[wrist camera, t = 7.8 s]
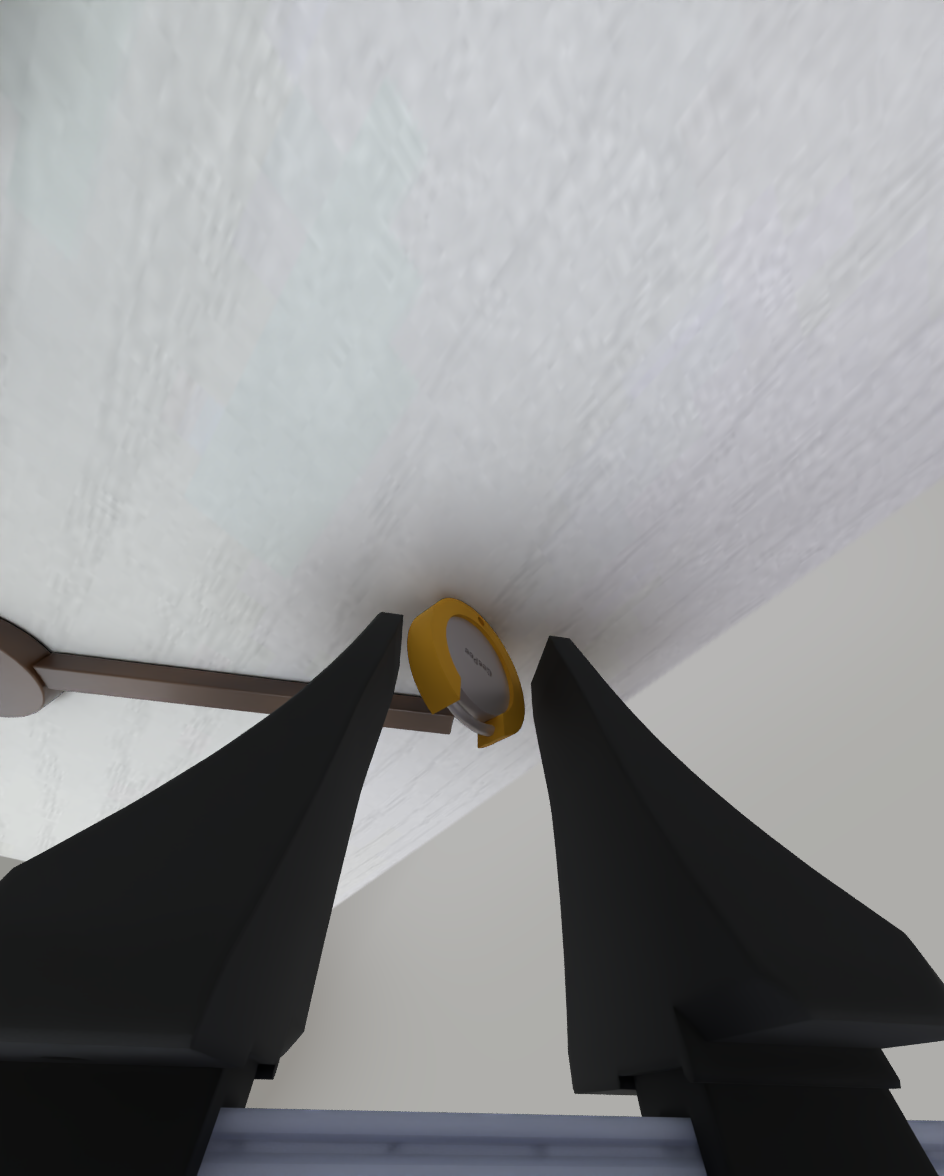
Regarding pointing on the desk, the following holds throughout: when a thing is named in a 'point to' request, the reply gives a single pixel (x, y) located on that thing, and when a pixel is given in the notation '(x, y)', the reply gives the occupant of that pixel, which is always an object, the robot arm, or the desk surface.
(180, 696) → the spoon
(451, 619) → the tracker
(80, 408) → the desk surface
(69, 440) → the desk surface
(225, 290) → the desk surface
